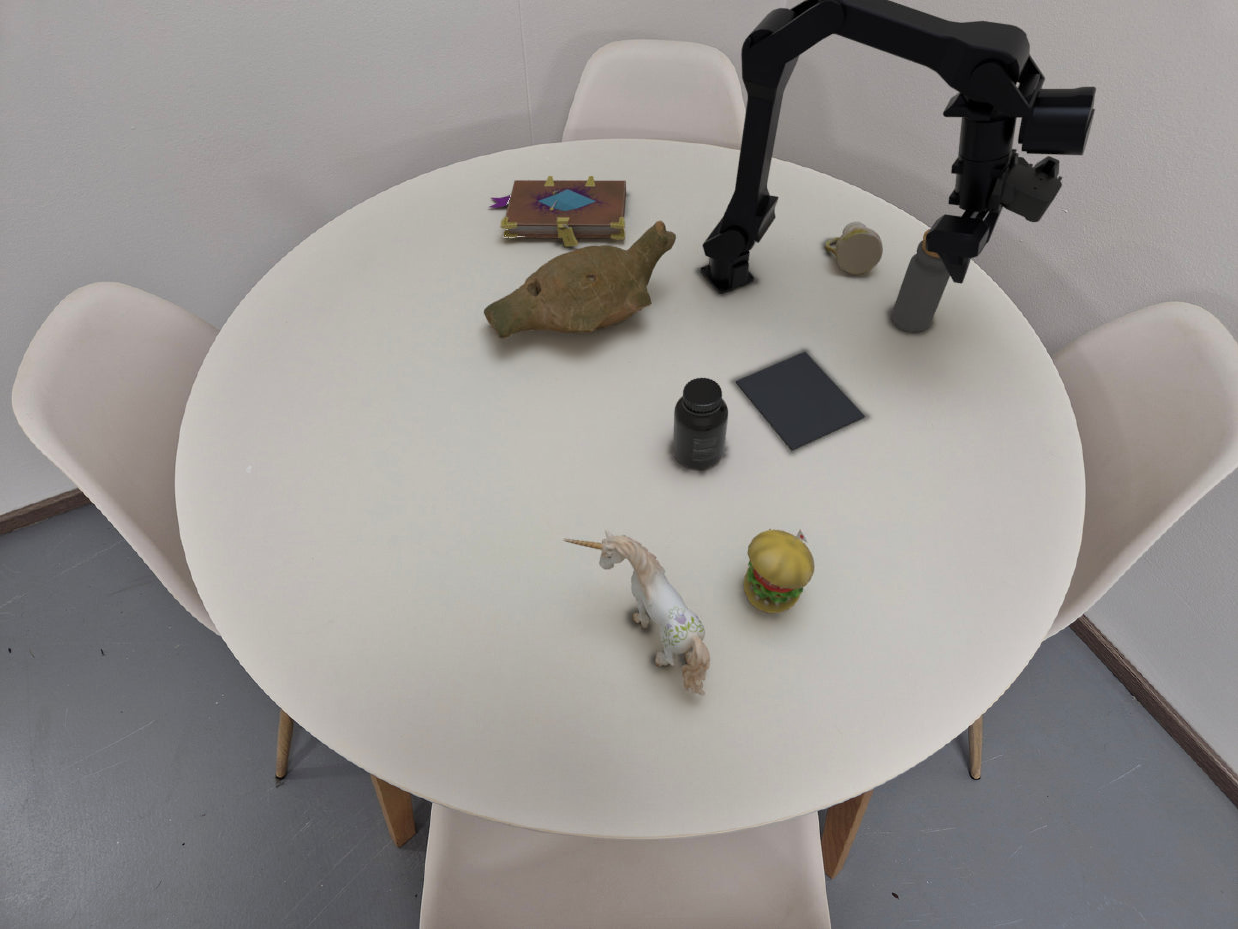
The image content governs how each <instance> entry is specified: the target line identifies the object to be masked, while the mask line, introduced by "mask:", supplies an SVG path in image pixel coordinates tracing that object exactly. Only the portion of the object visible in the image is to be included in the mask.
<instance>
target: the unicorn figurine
mask: <svg viewBox="0 0 1238 929" xmlns="http://www.w3.org/2000/svg"><path fill="white" fill-rule="evenodd" d="M604 533H605V537H606V538H603V539H602V540H601V543H600V542H595V541H588V540H579V539H571V538H563V539H562V540H563V542H565V543H568V544H571V545H572V544H573V545H577V546H581V547H585V548H590V549H595V550H598V551H599V550H600V551H601V553H600V556H599V560H598V564H599V567H601V568H602V569H603V570H611V569H613V568H615V564H616V565H618V564H621V563H622V562H623V561H624V560H627V561H628V562H629V563H630V565H631V567H632V569H633V571H632V574H631V576H630V582H631V584H630V587H631V588H630V590H631V594H632V596H633V597H634V598H635V601H636V607H637V610H638V612H634V613H633V615H632V619H633V621H634V622H635V623H636V624H639V623H641V626H642V628H644V629H648V626H649V623H650V620H652V621H653V622H654V623H655V624H656V625H657V626H658V627H660V633H659V637H660V642H661V643H662V645H663V651H661V650H658V651H657V652H656V655H655V660H654V663H655V665H656V666H657V667H662V666H668V665H671V666H672V667H675V666H676V664H677V663H676V654H679V655H680V654H683V657H684V660H685V662H686V664H683V665H682V667H681V671H682V678H683V688H684V689H685V691H686V692H689V691H690V689H691V691H692V693H694V694H698V695H699V696H702V697H703V696H705V695H706V691H704V690H703V688H704V683H703V681H705V680H706V677H707V676H706V673H707V671H708V669H709V668H710V661H711V655H710V650H709V648H708V647H707V645H706V644H705V643H704V642H703V641H704V638H705V635H706V632H705V631H706V630H705V626H704V624H703V622H702V620H701V619H700V618H699V616H698V615H697V614H696V613H695V612H694V611H692V610H691V609H689V608H688V607H687V605H686V603H685V601H684V599H683V597H682V596H681V595H680V593H679V592H678V591H677V590H676V588H675V587H674V586H673V585H672V584H671V583H670V582H669V580H668V577H667V576H666V575H665V573H666V570H665V569H664V567H663V566H662V565H661V564H660V561H659V560H658V559H657V556H656V555H655V554H654V553H653V552H651V551H649V549H648V548H647V547H646V546H644V545H642V543H641V542H639V541H637V540H634V539H633V538H632V537H629V536H627V535H625V534H621V535H613V534H612V533H611V532H610V531H609V530H607V529H606V530H605V532H604ZM690 650H691V651H690Z"/></svg>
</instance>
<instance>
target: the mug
mask: <svg viewBox="0 0 1238 929" xmlns="http://www.w3.org/2000/svg"><path fill="white" fill-rule="evenodd" d="M835 243H836V244H835ZM831 244H835V247H834V246H831ZM824 246H825V249H826V250H827V251H829V252H831V253H832V254H833V256H834V257H835V260H836V262H837V264H838V266H839V268H840V269H841V270H843V271H846V272H847V273H849V274H851V275H861V274H865V273H867V272H869V271H871V270H872V269H873V268H875V267H876V266H877V265H878V263H880V261H881V259H882V256H883V251H884V248H883V247H884V246H883V241H882V239H881V237H880V235H879V234H878V232H876V231H875V230H874V229H872V228H870V227H867V226H866V224H865V223H862V222H860V221H852V222H848V224H845V226H844V227H843V229H842V234H841V235H840V236H834V237H832V238H829V239H828V240H827V241H826V242H825V243H824Z"/></svg>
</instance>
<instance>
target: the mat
mask: <svg viewBox="0 0 1238 929" xmlns="http://www.w3.org/2000/svg"><path fill="white" fill-rule="evenodd" d="M735 383H736V385H737V386H738V387H739V388H740V390H741V391H742V392H743V393H744V395H745V396H746V397H747V398H748V399H749V400H750V401H751V403H752V404H753V406H755V408H756V409H757V410H758V412H760V414H761V415H762V416H763V417H764V419H765V420H766V421H767V423H769V425H770V426H771V427H772V428H773V430H774V431H775V432H776V433H777V434H778V436H779V437H780V438H781V439H782V441H784V443H785V444H786V445H787V446H788V448H789V449H790V450H791V451H794V450H795V451H796V450H798V449H799V448H801V447H803V446H805V445H807V444H810V443H811V442H815V441H816V440H819V439H821V438H823V437H825V436H827V435H829V434H832V433H834V432H836V431H838V430H840V429H842V428H844V427H847V426H849V425H851V424H853V423H855V422H857V421H859V420H862V419H864V418H865V414H864V413H863V411H861V410H860V409H859V408H858V407H857V406H856V404H855V403H853V401H852V400H851V399H850V398H849V397H848V396H847V395H846V394H845V393H844V391H842V390H841V389H840V388H839V386H838V385H837V384H836V383H835V382H834V381H833V380H832V379H831V378H830V377H829V375H828V374H827V373H826V372H825V371H824V370H823V368H821V367H820V366H819V364H818V363H817V362H816V361H815V360H814V359H813V358H812V357H811V356H810V355H809V354H808V353H807V352H806V351H803V352H801V353H799V354H796V355H794V356H792V357H791V356H790V357H789V358H786V359H784V360H781V361H780V362H777V363H775V364H772V365H770V366H768V367H765V368H763V369H761V370H758V371H756V372H754V373H751V374H749V375H747V376H743V377H741V378H740V379H737V380H735Z"/></svg>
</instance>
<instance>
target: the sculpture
mask: <svg viewBox="0 0 1238 929" xmlns="http://www.w3.org/2000/svg"><path fill="white" fill-rule="evenodd" d="M676 240H677V235H676V233H675V232H672V231H670V230H667V226H666V223H665V222H664V221H662V220H657V221H655V223H653V225H652V226H650V227H649V228H648V229H647V230H645V232H644V233H642V235H641V236H640V237H639V238H638V239H637V240H636V241H634V242H633V243H632V245H630V247H629V248H628V249H623V248H621V247H619V246H615V245H608V244H600V245H587V246H583V247H580V248H577V249H574V250H572V251H568V252H564V253H561V254H558V255H556V256H555V257H553V258H551V259H550V260H548V261H547V262H545V263H544V264H543V265H541V266H539V268H537V270H536V271H533V273H531V274H530V275H529V276H528V277H527V278H526V279H525V281H524V283H523V284H522V285H520V286H519V287H518V288H516V289H515V290H514V291H512V292H510V293H509V294H507V295H505V296H504V297H502V298H500V299H497V300H496V301H493V302H492V303H490V304H489V305H487V306H486V307H485V308H484V309H483V315H484V317H485V319H486V321H487V323H488V325H490V327H491V328H492V329H493V331H494V333H495V334H496V335H497V337H498V339H499V338H500V339H501V340H505V339H506V338H510V337H511V336H512V335H514V334H519V333H522V332H523V333H524V332H526V331H527V332H528V331H529V332H530V331H548V332H555V333H564V334H592V333H593V332H594V331H599V330H603V329H607V328H609V327H613V326H614V325H618V324H620V323H623V322H624V321H626V320H628V319H629V318H631V317H632V316H633V315H635V314H636V313H638V311H642V310H643V309H644V308H646V307H649V306H651V305H652V304H653V302H652V299H651V296H650V293H649V291H648V285H649V282H650V280H651V277H652V274H653V271H654V269H655V267H656V265H657V263H658V262H659V261H660V259H661V258H662V256H664V255H665V254H666V253H667V252H669V251H671V250H672V249H673V247H674V245H675V244H676Z"/></svg>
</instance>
